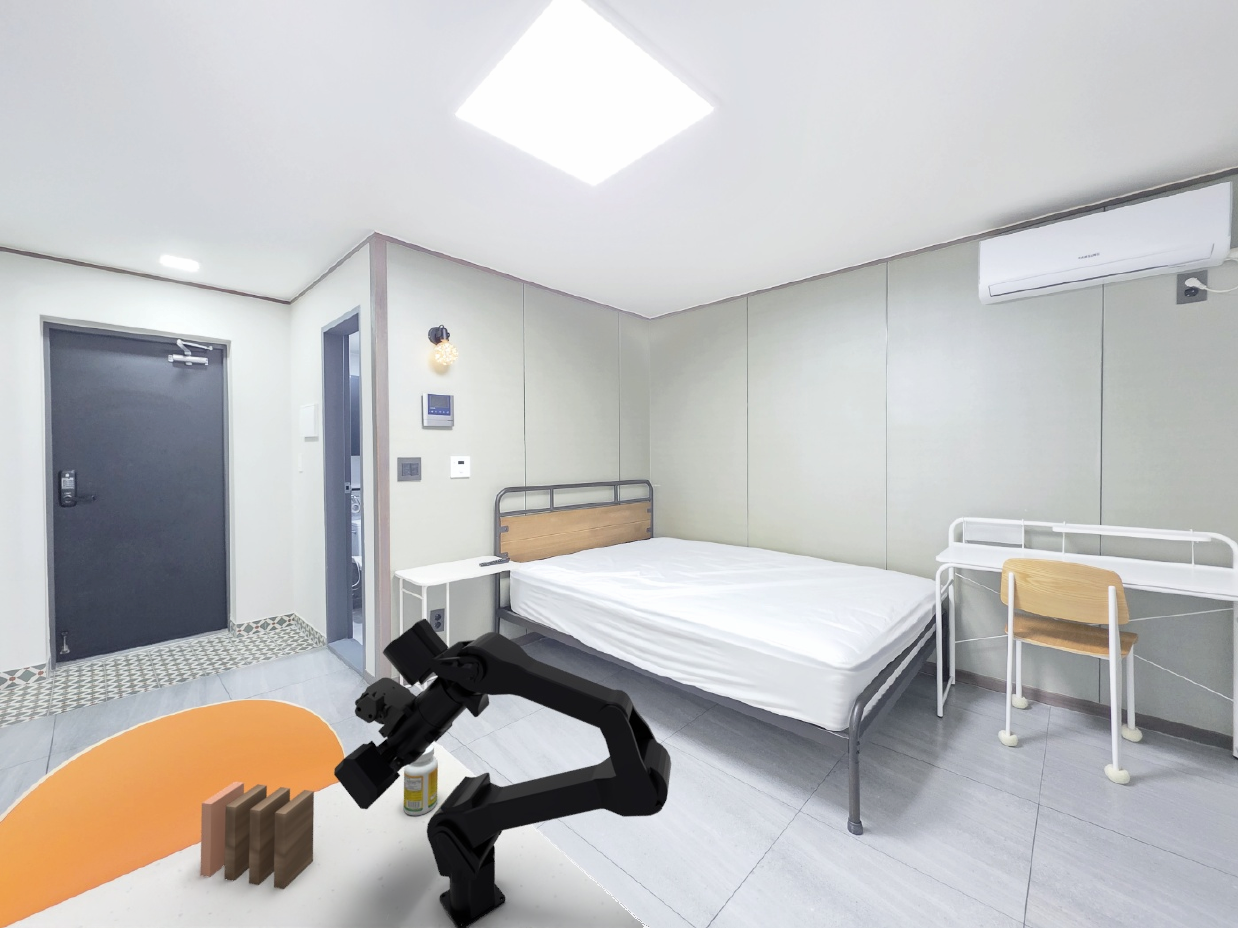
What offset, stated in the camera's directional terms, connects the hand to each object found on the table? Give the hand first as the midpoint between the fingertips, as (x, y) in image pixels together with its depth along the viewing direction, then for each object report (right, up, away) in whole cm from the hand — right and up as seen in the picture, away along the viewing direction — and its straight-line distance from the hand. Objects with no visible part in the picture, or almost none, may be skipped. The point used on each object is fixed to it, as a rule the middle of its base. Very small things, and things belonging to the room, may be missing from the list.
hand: (361, 783), depth 68 cm
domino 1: (-22, -14, +4) cm, 26 cm away
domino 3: (-14, -14, +2) cm, 20 cm away
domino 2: (-18, -14, +3) cm, 23 cm away
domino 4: (-10, -14, +1) cm, 17 cm away
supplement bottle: (+2, -14, +16) cm, 21 cm away
